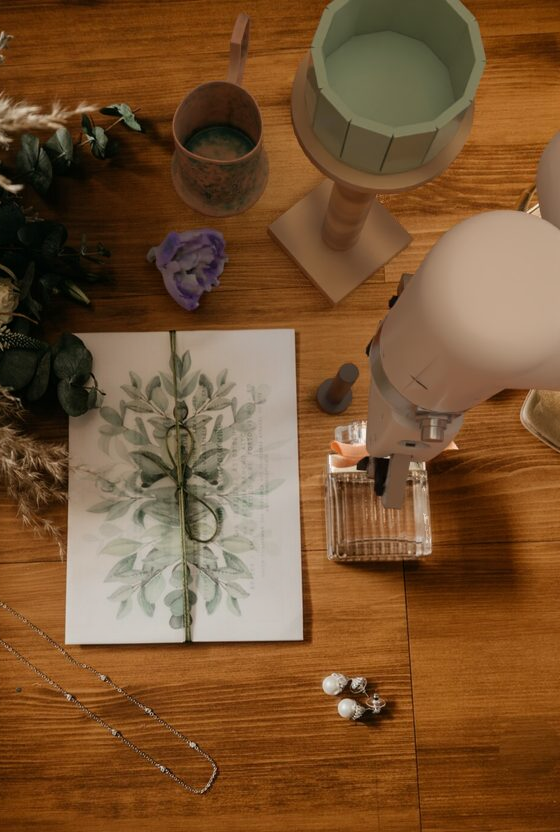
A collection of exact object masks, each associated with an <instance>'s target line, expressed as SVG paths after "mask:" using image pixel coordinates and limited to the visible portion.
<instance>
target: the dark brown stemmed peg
mask: <svg viewBox="0 0 560 832" xmlns="http://www.w3.org/2000/svg"><path fill="white" fill-rule="evenodd" d="M359 377H360V370H359V367H358V366H356V364H354V363H352V362H347V363H343V364H342V365H341V366H340V367H339V369H338V371H337V373H336V375H335V376H334V377H331V378H328V379H325V380H324V381H322V383H320V385H319V386H318V388H317V390H316V393H315V401H316V402H315V403H316V406H317V408H319V410H320V411H321V412H323V413H324V414H326V415H329V416H338V415H340V414H342V413H344V412H345V411H347V409H348V408H349V407H350V405H351V404H352V401H353V390H352V387H353V386H354V384H355V383H356V382H357V380H358V379H359Z"/></svg>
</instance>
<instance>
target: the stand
mask: <svg viewBox="0 0 560 832" xmlns="http://www.w3.org/2000/svg"><path fill="white" fill-rule="evenodd" d="M309 54H310V48H309V49H308V50H307V51H306V53H305V54H304V56H303V58H302V59H301V60H300V62H299V65H298V67H297V70H296V71H295V75H294V78H293V81H292V87H291V93H290V101H289V103H290V105H289V107H290V108H289V109H290V113H289V114H290V120H291V125H292V129H293V133H294V136H295V139H296V141H297V143H298V145H299V147H300V149H301V150H302V152H303V154H304V156H306V158H307V159H308V160H309V162H310V163H311V165H312V166H314V168H315V169H317V170H318V171H319V172H320V173H321V174H322V175H324V176H325V177H326V178H325V179H324V180H323V181H322V182H320V183H319V184H318V185H317V186H315V187H314V188H313V189H312V190H310V191H309V192H308V193H306V194H305V195H304V196H303V197H302V198H301V199H300V200H298V201H297V202H296V203H294V204H293V205H292V206H291V207H290V208H289V209H287V210H286V211H284V212H283V213H282V214H281V215H279V216H278V217H277V218H276V219H275V220H273V222H271V223H270V224H269V225H267V229H266V233H267V234H268V235H269V237H271V239H272V240H273V241H274V242H275V243H276V244H277V245H278V247H279V248H280V249H281V250H282V251H283V253H285V254H286V256H287V257H288V258H289V259H290V260H291V262H292V263H293V264H294V265H295V266H296V267H297V268H298V269H299V271H300V272H301V273H302V274H303V275H304V276H305V277H306V278H307V279H308V281H309V282H310V283H311V284H312V285H313V286H314V288H315V289H316V290H317V291H318V292H319V293H320V294H321V295H322V296H323V298H324V299H325V300H326V301H327V302H328V303H329V304H330V305H331V307H332V308H335V307H337V306H338V305H340V303H341V302H343V301H344V300H345V299H346V298H347V297H349V296H350V295H351V294H352V293H353V292H355V291H356V290H357V289H358V288H360V287H361V286H362V285H363V284H365V283H366V282H367V281H368V280H369V279H370V278H372V277H373V276H374V275H375V274H376V273H378V272H379V271H380V270H382V269H383V268H384V267H385V266H386V265H387V264H388V263H390V262H391V261H392V260H393V259H394V258H396V257H397V256H398V255H399V254H401V253H402V252H403V251H404V250H405V249H407V248H408V247H409V246H410V245H412V243H413V240H414V237H413V236H412V235H411V234H410V233H409V232H408V230H406V228H405V227H404V226H403V225H402V224H401V222H399V221H398V219H397V218H396V217H395V216H394V215H393V214H392V213H391V211H389V209H387V207H386V206H385V205H384V204H383V203H382V202H381V201H380V199H379V198H378V197H377V196H389V195H398V194H403V193H407V192H411V191H414V190H416V189H419V188H422V187H424V186H425V185H427V184H429V183H432V182H433V181H434V180H436V179H437V178H438V177H439V176H441V175H442V174H443V173H444V172H445V171H447V170H448V169H449V168H450V167H451V165H452V164H453V163H454V162H455V160H456V159H457V158H458V157H459V155H460V153H461V152H462V149H463V148H464V146H465V144H466V142H467V140H468V139H469V135H470V133H471V131H472V128H473V127H472V126H473V125H474V124H473V123H474V118H475V110H476V97H475V96H474V99H473V102H472V103H471V105H470V107H469V109H468V111H467V113H466V115H465V117H464V119H463V121H462V123H461V124H460V126H459V128H458V130H457V132H456V134H455V136H454V138H453V139H452V141H451V142H450V143H448V144H447V145H446V146H445V147H444V148H443V150H442V151H441V152H440V153H439V154H438V155H437V156H435V157H434V158H433V159H431V160H430V161H429V162H427V163H426V164H424V165H422V166H420V167H418V168H416V169H413V170H410V171H407V172H403V173H399V174H390V175H379V174H371V173H366V172H363V171H359V170H356V169H354V168H351V167H349V166H347V165H345V164H344V163H342V162H340V161H339V160H337V159H336V158H335V157H334V156H332V155H331V154H330V153H329V152H328V151H327V150H326V149H325V148H324V147H323V145H322V144H321V143H320V142H319V140H318V139H317V137H316V135H315V133H314V132H313V129H312V127H311V125H310V122H309V118H308V115H307V108H306V97H305V92H304V90H305V82H306V75H307V68H308V61H309Z"/></svg>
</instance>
